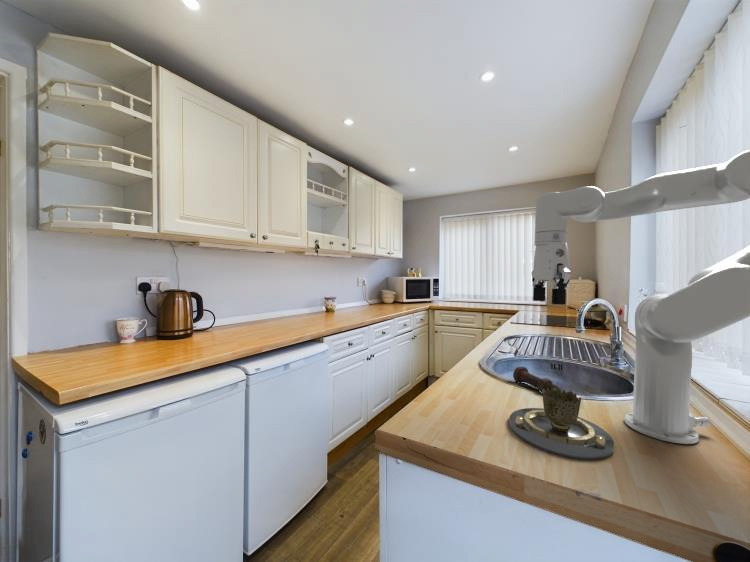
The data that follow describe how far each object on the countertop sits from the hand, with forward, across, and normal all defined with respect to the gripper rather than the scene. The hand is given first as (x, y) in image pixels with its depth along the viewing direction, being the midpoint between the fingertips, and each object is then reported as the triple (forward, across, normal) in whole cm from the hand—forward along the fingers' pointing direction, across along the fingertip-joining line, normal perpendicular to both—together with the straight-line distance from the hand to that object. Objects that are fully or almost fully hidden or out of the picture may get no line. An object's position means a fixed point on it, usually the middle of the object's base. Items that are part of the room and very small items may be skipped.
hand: (548, 302), depth 83 cm
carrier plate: (+28, -15, +5) cm, 32 cm away
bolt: (+29, +12, -4) cm, 31 cm away
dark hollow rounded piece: (+27, -16, +5) cm, 32 cm away
